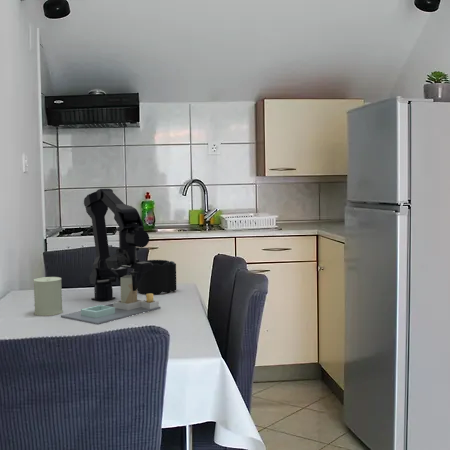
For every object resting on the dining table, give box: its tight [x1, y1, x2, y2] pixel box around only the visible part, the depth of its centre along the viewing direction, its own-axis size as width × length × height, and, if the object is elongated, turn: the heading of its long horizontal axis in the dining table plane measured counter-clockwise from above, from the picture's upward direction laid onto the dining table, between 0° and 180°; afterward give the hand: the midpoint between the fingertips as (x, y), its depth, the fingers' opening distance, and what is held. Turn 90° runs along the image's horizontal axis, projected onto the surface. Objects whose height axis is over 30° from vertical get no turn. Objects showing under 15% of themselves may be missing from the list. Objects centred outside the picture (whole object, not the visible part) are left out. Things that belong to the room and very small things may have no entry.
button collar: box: [141, 299, 160, 309], centre depth 209 cm, size 4×4×2 cm
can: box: [32, 276, 64, 317], centre depth 205 cm, size 9×9×12 cm
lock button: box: [145, 293, 155, 303], centre depth 209 cm, size 2×2×3 cm
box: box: [120, 274, 138, 304], centre depth 210 cm, size 5×4×11 cm
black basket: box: [137, 259, 177, 296], centre depth 241 cm, size 14×15×12 cm
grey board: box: [60, 298, 161, 326], centre depth 204 cm, size 18×28×3 cm, turn 143°
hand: (128, 289), depth 210 cm, fingers closed on box, 5 cm apart
